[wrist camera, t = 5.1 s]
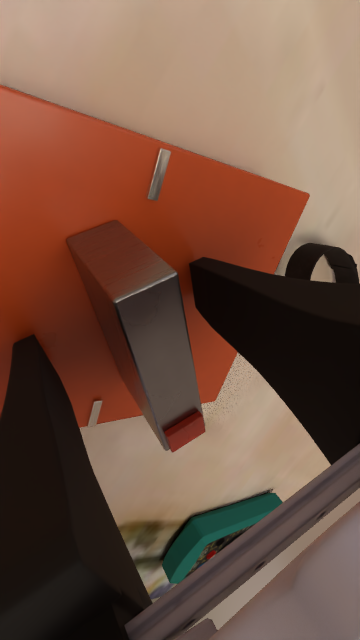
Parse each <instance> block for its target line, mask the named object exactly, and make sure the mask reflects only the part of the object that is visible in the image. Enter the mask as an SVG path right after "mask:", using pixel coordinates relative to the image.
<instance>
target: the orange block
mask: <svg viewBox="0 0 360 640" xmlns="http://www.w3.org/2000/svg"><path fill="white" fill-rule="evenodd" d="M309 196H310V195H309V194H308V193H306V192H303V191H300V190H297V189H295V188H292V187H289V186H286V185H283V184H281V183H278V182H275V181H272V180H269V179H267V178H264V177H261V176H258V175H255V174H253V173H250V172H247V171H244V170H241V169H238V168H236V167H233V166H230V165H227V164H224V163H221V162H219V161H216V160H213V159H210V158H207V157H204V156H202V155H199V154H196V153H193V152H190V151H187V150H185V149H182V148H179V147H176V146H173V145H170V144H168V143H165V142H162V141H159V140H156V139H153V138H151V137H148V136H145V135H142V134H139V133H136V132H134V131H131V130H128V129H125V128H122V127H119V126H117V125H114V124H111V123H108V122H105V121H102V120H100V119H97V118H94V117H91V116H88V115H85V114H83V113H80V112H77V111H74V110H71V109H68V108H66V107H63V106H60V105H57V104H54V103H51V102H49V101H46V100H43V99H40V98H37V97H34V96H31V95H29V94H26V93H23V92H20V91H17V90H14V89H12V88H9V87H6V86H3V85H0V416H1V412H2V408H3V405H4V401H5V396H6V391H7V386H8V380H9V374H10V367H11V359H12V347H13V344H14V343H15V342H17V341H19V340H22V339H24V338H26V337H28V336H30V335H33V334H34V335H35V336H36V338H37V340H38V341H39V343H40V345H41V346H42V348H43V350H44V352H45V353H46V355H47V357H48V358H49V360H50V362H51V363H52V365H53V367H54V368H55V370H56V372H57V373H58V375H59V377H60V379H61V381H62V383H63V385H64V388H65V390H66V392H67V394H68V396H69V399H70V401H71V404H72V407H73V410H74V413H75V416H76V419H77V423H78V426H79V428H80V427H85V426H87V427H92V426H96V424H100V423H105V422H110V421H116V420H121V419H126V418H131V417H136V416H141V415H143V413H142V412H141V410H140V408H139V407H138V405H137V403H136V402H135V400H134V399H133V397H132V395H131V394H130V392H129V390H128V389H127V387H126V385H125V384H124V382H123V379H122V377H121V375H120V372H119V370H118V367H117V365H116V362H115V360H114V357H113V355H112V353H111V350H110V348H109V345H108V343H107V340H106V338H105V335H104V333H103V330H102V328H101V326H100V323H99V321H98V318H97V316H96V313H95V311H94V308H93V306H92V303H91V301H90V299H89V296H88V294H87V291H86V289H85V286H84V284H83V281H82V279H81V277H80V274H79V272H78V269H77V267H76V264H75V262H74V259H73V257H72V254H71V252H70V250H69V247H68V245H67V239H68V238H70V237H73V236H75V235H78V234H80V233H83V232H86V231H88V230H91V229H93V228H96V227H99V226H101V225H104V224H106V223H109V222H112V221H114V220H118V221H119V222H120V223H121V224H122V225H123V226H125V227H126V228H127V229H128V230H129V231H130V232H132V233H133V234H134V235H135V236H136V237H137V238H139V239H140V240H141V241H142V242H143V243H144V244H146V245H147V246H148V247H149V248H150V249H151V250H153V251H154V252H155V253H156V254H157V255H158V256H160V257H161V258H162V259H163V260H164V261H165V262H167V263H168V264H169V265H170V266H171V267H172V268H173V269H175V270H176V271H177V273H178V277H179V282H180V288H181V294H182V299H183V305H184V311H185V316H186V322H187V328H188V333H189V339H190V345H191V350H192V356H193V362H194V367H195V373H196V379H197V384H198V390H199V395H200V401H201V404H202V403H207V402H212V401H215V400H216V398H217V396H218V394H219V392H220V389H221V387H222V385H223V383H224V381H225V379H226V376H227V374H228V372H229V370H230V368H231V366H232V363H233V361H234V359H235V357H236V355H237V353H238V352H237V351H236V350H235V349H234V348H233V347H232V346H231V345H230V344H229V343H228V342H226V341H225V340H224V339H223V338H222V337H221V336H220V335H219V334H218V333H217V332H216V331H215V330H214V329H213V328H212V327H211V326H210V325H209V324H208V323H207V321H206V320H205V319H204V318H203V317H202V315H201V314H200V313H199V311H198V310H197V309H196V308H195V301H194V295H193V288H192V281H191V274H190V268H189V263H191V262H193V261H195V260H197V259H199V258H202V257H207V258H212V259H216V260H219V261H223V262H227V263H230V264H234V265H238V266H241V267H245V268H249V269H253V270H257V271H261V272H265V273H269V274H274V272H275V270H276V268H277V266H278V264H279V262H280V259H281V257H282V255H283V253H284V251H285V249H286V246H287V244H288V242H289V240H290V238H291V236H292V233H293V231H294V229H295V227H296V225H297V223H298V220H299V218H300V216H301V214H302V212H303V210H304V207H305V205H306V203H307V201H308V199H309Z"/></svg>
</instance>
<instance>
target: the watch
mask: <svg viewBox="0 0 360 640" xmlns="http://www.w3.org/2000/svg"><path fill="white" fill-rule="evenodd" d="M323 254H325V256H326V257H327V259H328V261H329V264H330V266H331V268H332V269H333V270H334V273H335V279H336V283H348V284H359V278H358V272H357V264H355V262H354V259H353V257H352V256H351V255H349V254H347V253H346V252H345V251H344V250H343V249H341V248H339V247H333V246H327V245H321V244H314V243H307V244H304V245H302V246H300V247H299V248H298V249H297V250H296V251H295V252H294V253H293V254H292V256H291V258H290V260H289V262H288V264H287V268H286V272H285V277H290V278H296V279H303V280H310V279H311V274H312V271H313V269H314V267H315V265H316V262H317V261H318V260H319V258H320V257H321V256H322V255H323Z"/></svg>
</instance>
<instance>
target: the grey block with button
mask: <svg viewBox="0 0 360 640" xmlns="http://www.w3.org/2000/svg"><path fill="white" fill-rule="evenodd" d="M67 245H68V247H69V250H70V252H71V254H72V257H73V259H74V262H75V264H76V267H77V269H78V272H79V274H80V277H81V279H82V281H83V284H84V286H85V289H86V291H87V294H88V296H89V299H90V301H91V303H92V306H93V308H94V311H95V313H96V316H97V318H98V321H99V323H100V326H101V328H102V330H103V333H104V335H105V338H106V340H107V343H108V345H109V348H110V350H111V353H112V355H113V357H114V360H115V362H116V365H117V367H118V370H119V372H120V375H121V377H122V379H123V382H124V384H125V385H126V387H127V389H128V390H129V392H130V394H131V395H132V397H133V399H134V400H135V402H136V403H137V405H138V407H139V408H140V410H141V412H142V413H143V415H144V417H145V418H146V420H147V422H148V423H149V425H150V427H151V428H152V430H153V432H154V433H155V435H156V436H157V438H158V440H159V441H160V443H161V445H162V446H163V448H164V449H165V450H166V451H167V450H169V449H170V450H171V451H172V452H174V451H176V450H178V449H179V448H181V447H182V446H184V445H185V444H187V443H188V442H190V441H192V440H193V439H195V438H196V437H198V436H199V435H201V434H203V433H204V432H205V424H204V418H203V412H202V407H201V401H200V395H199V390H198V384H197V379H196V373H195V367H194V362H193V356H192V350H191V345H190V339H189V333H188V328H187V322H186V316H185V311H184V305H183V299H182V294H181V288H180V282H179V277H178V273H177V271H176V270H175V269H173V268H172V267H171V266H170V265H169V264H168V263H167V262H165V261H164V260H163V259H162V258H161V257H160V256H158V255H157V254H156V253H155V252H154V251H153V250H151V249H150V248H149V247H148V246H147V245H146V244H144V243H143V242H142V241H141V240H140V239H139V238H137V237H136V236H135V235H134V234H133V233H132V232H130V231H129V230H128V229H127V228H126V227H125V226H123V225H122V224H121V223H120V222H119V221H118V220H114V221H112V222H109V223H106V224H104V225H101V226H99V227H96V228H93V229H91V230H88V231H86V232H83V233H80V234H78V235H75V236H73V237H70V238H68V239H67Z"/></svg>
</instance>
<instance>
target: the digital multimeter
mask: <svg viewBox="0 0 360 640" xmlns="http://www.w3.org/2000/svg"><path fill="white" fill-rule="evenodd" d="M282 503H283V502H282V501H281V500H280V498H279V497H278V496H277V495H276V493H267V494H263V495H260V496H257V497H254V498H251V499H248V500H245V501H242V502H239V503H236V504H233V505H229V506H226V507H223V508H220V509H217V510H214V511H210V512H207V513H204V514H201V515H198V516H195V517H192V518H191V519H190V520H189V521H188V523H187V524H186V525H185V527H184V528H183V530H182V531H181V532H180V534H179V535H178V537H177V538H176V540H175V541H174V543H173V544H172V546H171V547H170V549H169V551H168V552H167V554H166V556H165V557H164V560H163V564H162V567H163V569H164V571H165V573H166V575H167V578H168V580H169V582H170V583H175V584H179V583H180V582H181V581H182V580H184V579H185V578H186V577H188V576H189V575H190V574H191V573H193V572H194V571H195V570H197V569H198V568H199V567H201V566H202V565H203V564H204V563H206V562H207V561H208V560H210V559H211V558H212V557H213V556H215V555H216V554H217V553H219V552H220V551H221V550H223V549H224V548H225V547H226V546H228V545H229V544H230V543H232V542H233V541H234V540H235V539H237V538H238V537H239V536H241V535H242V534H243V533H245V532H246V531H247V530H248V529H250V528H251V527H252V526H254V525H255V524H256V523H257V522H259V521H260V520H261V519H263V518H264V517H265V516H267V515H268V514H269V513H270V512H272V511H273V510H274V509H276V508H277V507H278V506H279V505H281V504H282Z"/></svg>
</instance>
